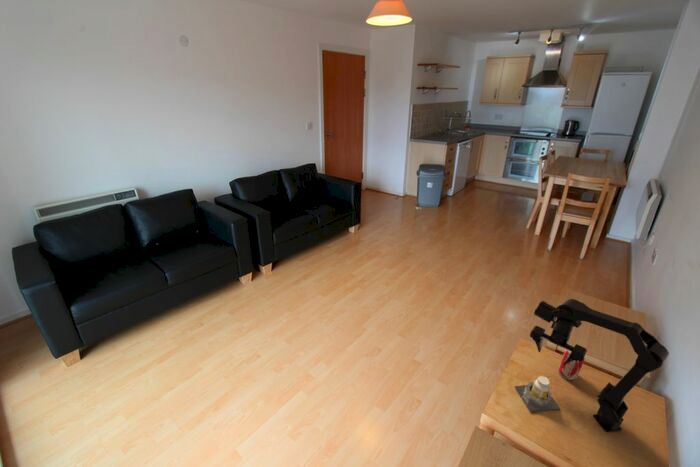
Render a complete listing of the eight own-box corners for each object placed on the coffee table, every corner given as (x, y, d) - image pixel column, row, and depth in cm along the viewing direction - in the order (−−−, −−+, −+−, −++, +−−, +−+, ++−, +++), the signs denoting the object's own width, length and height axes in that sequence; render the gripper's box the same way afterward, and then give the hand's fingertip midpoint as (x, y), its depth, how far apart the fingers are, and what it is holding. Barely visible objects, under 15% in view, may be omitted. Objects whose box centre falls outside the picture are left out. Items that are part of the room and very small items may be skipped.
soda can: (557, 377, 140) (566, 355, 134) (557, 365, 146) (565, 343, 140) (577, 383, 137) (587, 361, 131) (575, 371, 143) (585, 349, 137)
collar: (559, 409, 127) (562, 403, 125) (530, 412, 126) (532, 405, 124) (542, 385, 136) (544, 378, 135) (514, 387, 136) (516, 381, 134)
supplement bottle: (530, 399, 129) (536, 383, 125) (529, 389, 134) (535, 372, 129) (545, 404, 127) (552, 388, 123) (544, 393, 132) (551, 377, 127)
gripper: (596, 330, 125) (583, 359, 132) (543, 307, 137) (534, 335, 144) (589, 345, 118) (575, 376, 125) (534, 320, 130) (524, 349, 137)
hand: (551, 357), depth 133 cm, fingers open, 9 cm apart
